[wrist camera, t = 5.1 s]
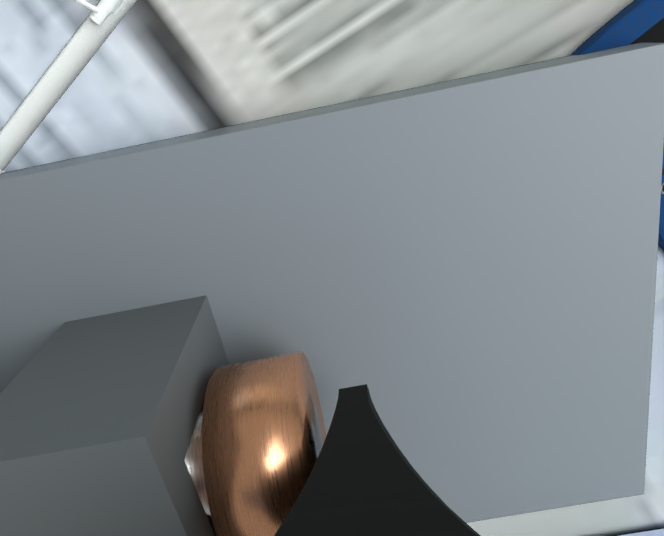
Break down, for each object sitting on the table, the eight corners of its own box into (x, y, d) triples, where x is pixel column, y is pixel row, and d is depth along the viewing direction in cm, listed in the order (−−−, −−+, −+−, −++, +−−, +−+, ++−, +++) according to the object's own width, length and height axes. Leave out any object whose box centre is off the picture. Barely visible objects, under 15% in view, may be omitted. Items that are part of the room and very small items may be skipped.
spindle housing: (620, 460, 19) (776, 679, 12) (-15, 564, 20) (-171, 811, 14) (633, 42, 13) (928, 43, 7) (-242, 223, 15) (-684, 367, 8)
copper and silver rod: (332, 449, 15) (337, 595, 11) (-71, 517, 16) (-203, 679, 12) (299, 319, 14) (291, 437, 10) (-151, 402, 14) (-336, 545, 10)
